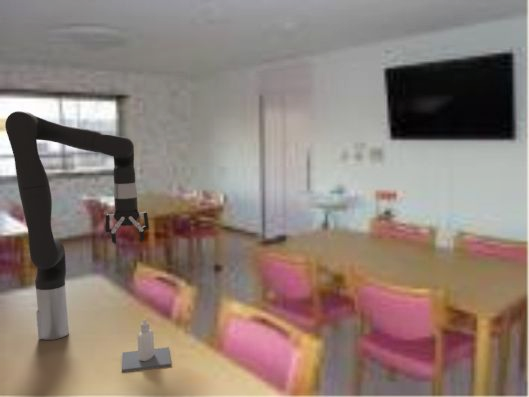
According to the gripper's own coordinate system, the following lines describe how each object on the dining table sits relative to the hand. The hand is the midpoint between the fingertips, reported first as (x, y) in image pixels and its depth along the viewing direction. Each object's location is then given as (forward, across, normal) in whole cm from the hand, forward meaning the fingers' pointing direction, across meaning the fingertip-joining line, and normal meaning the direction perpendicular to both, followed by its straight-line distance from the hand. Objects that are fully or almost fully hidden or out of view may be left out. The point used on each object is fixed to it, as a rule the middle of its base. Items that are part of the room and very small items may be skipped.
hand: (128, 242), depth 183 cm
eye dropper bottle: (+30, -4, +29) cm, 42 cm away
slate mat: (+30, -4, +29) cm, 42 cm away
